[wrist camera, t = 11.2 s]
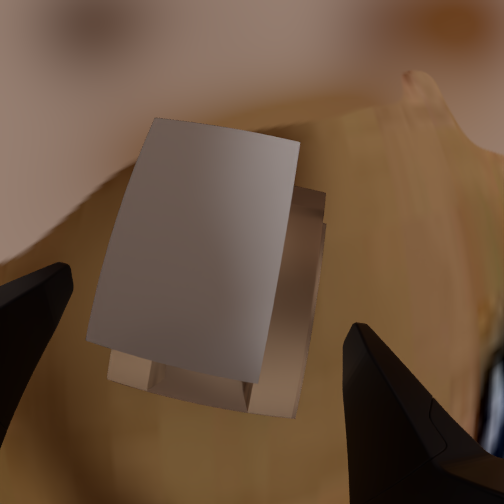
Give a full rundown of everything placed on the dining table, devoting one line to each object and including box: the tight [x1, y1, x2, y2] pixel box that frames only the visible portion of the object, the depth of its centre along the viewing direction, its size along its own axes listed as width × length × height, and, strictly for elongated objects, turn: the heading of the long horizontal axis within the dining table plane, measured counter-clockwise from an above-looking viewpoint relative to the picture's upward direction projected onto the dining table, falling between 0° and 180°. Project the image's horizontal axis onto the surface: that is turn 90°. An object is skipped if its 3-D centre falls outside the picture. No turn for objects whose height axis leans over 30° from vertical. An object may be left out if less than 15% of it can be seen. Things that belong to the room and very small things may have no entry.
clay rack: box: [107, 186, 326, 419], centre depth 17 cm, size 12×11×6 cm
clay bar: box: [86, 118, 300, 384], centre depth 12 cm, size 4×3×13 cm, turn 169°
